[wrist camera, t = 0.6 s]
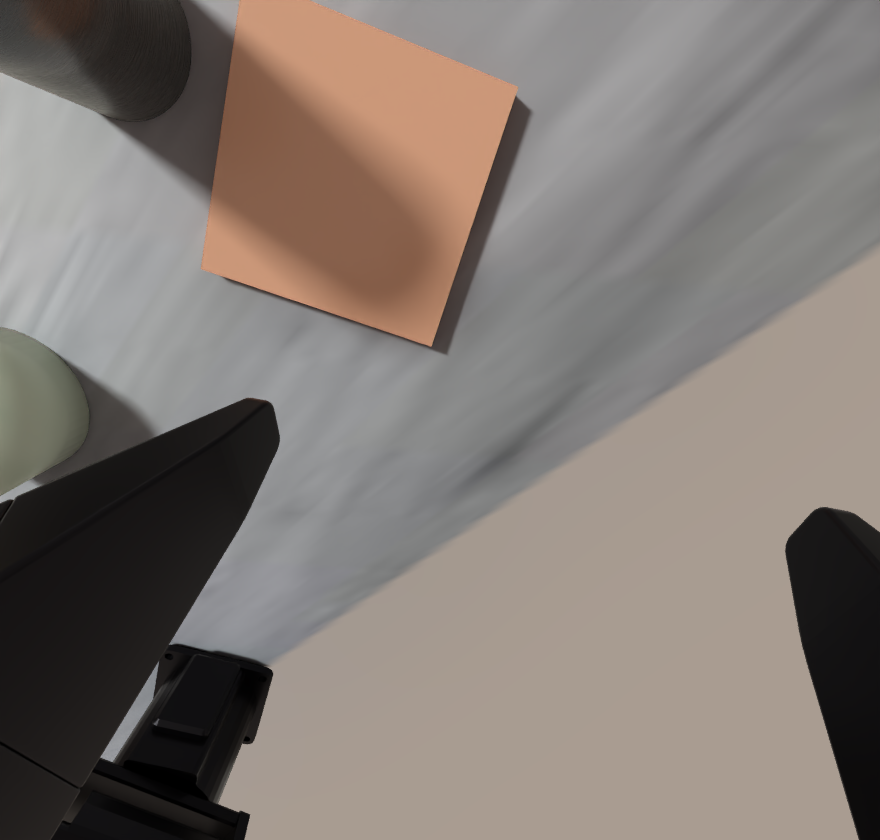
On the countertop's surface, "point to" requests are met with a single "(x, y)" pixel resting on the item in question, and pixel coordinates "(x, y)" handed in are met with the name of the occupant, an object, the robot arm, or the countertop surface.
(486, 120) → the plate
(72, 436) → the pale green rounded piece
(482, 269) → the countertop surface
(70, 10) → the canister
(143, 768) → the robot arm
